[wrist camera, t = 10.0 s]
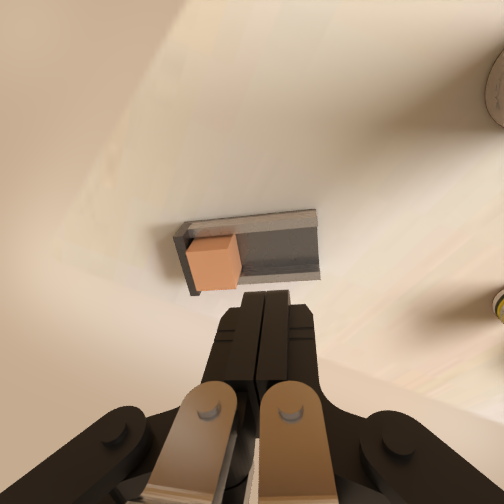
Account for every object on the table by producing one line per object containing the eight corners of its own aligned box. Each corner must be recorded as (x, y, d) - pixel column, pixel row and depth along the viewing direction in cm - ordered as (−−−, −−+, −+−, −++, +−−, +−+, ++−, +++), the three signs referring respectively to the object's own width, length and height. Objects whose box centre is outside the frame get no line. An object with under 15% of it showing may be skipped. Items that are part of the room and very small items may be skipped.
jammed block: (234, 230, 38) (227, 249, 34) (241, 267, 41) (235, 288, 37) (197, 234, 39) (185, 252, 35) (206, 269, 42) (196, 291, 37)
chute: (315, 208, 36) (318, 223, 33) (319, 269, 40) (321, 288, 37) (184, 222, 39) (172, 237, 35) (199, 277, 43) (190, 296, 39)
